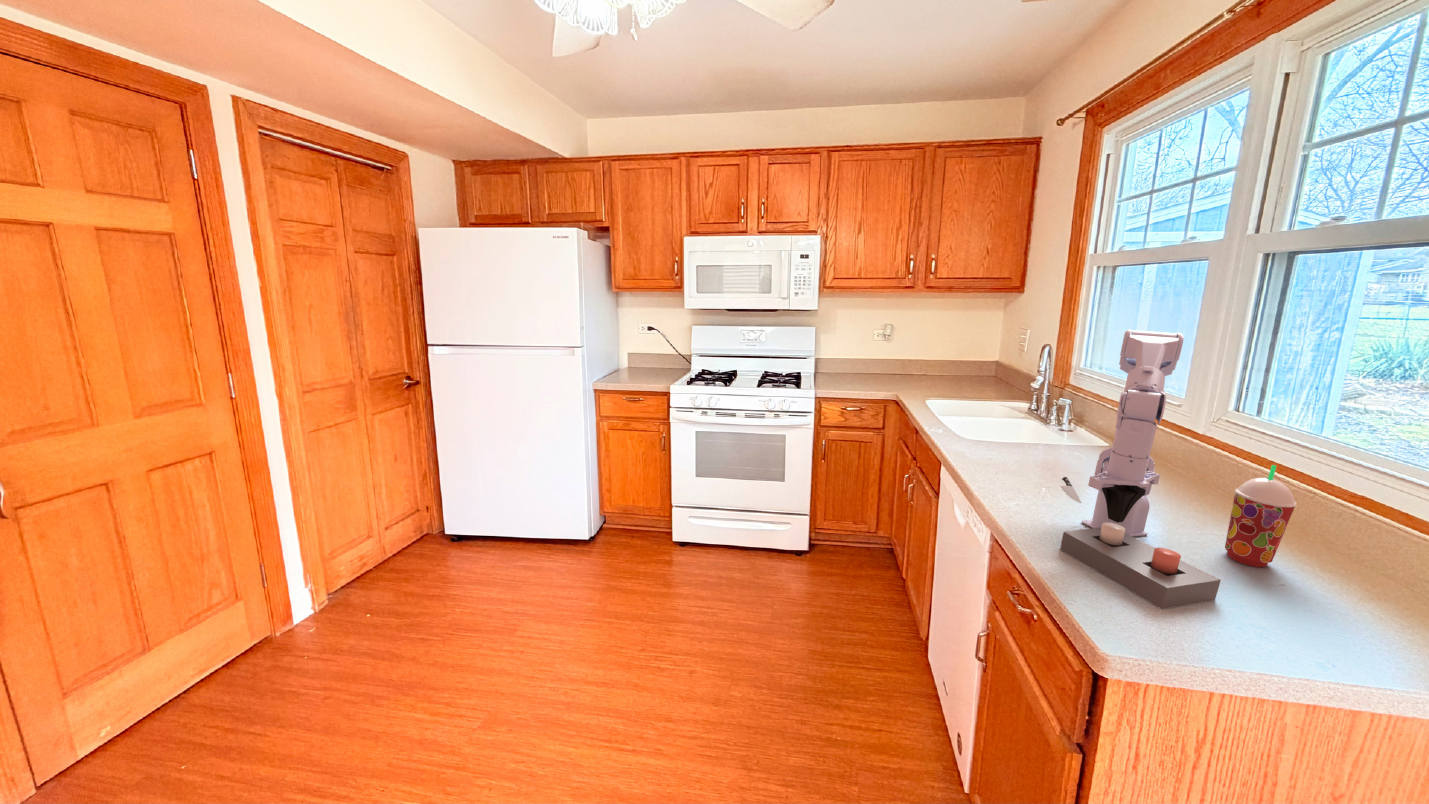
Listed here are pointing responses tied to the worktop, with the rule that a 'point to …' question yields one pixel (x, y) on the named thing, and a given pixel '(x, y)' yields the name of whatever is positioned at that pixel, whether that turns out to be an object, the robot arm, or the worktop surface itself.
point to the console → (1140, 569)
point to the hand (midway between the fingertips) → (1115, 520)
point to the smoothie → (1258, 520)
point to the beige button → (1112, 533)
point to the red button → (1165, 560)
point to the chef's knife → (1070, 490)
